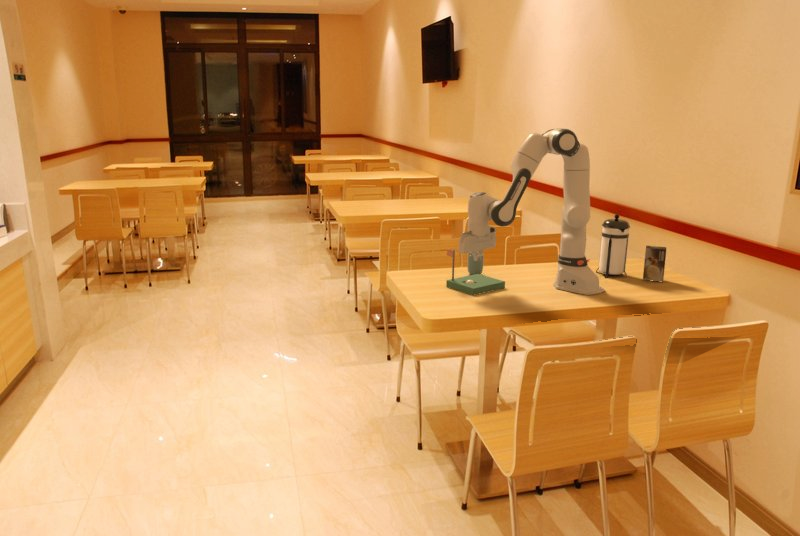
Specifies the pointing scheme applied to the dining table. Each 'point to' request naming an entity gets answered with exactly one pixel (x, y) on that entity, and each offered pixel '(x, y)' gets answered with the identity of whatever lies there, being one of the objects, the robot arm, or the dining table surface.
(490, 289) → the putting green
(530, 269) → the dining table surface
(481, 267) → the cup
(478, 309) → the dining table surface
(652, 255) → the coffee box
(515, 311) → the dining table surface
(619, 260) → the coffee press
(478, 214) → the robot arm
